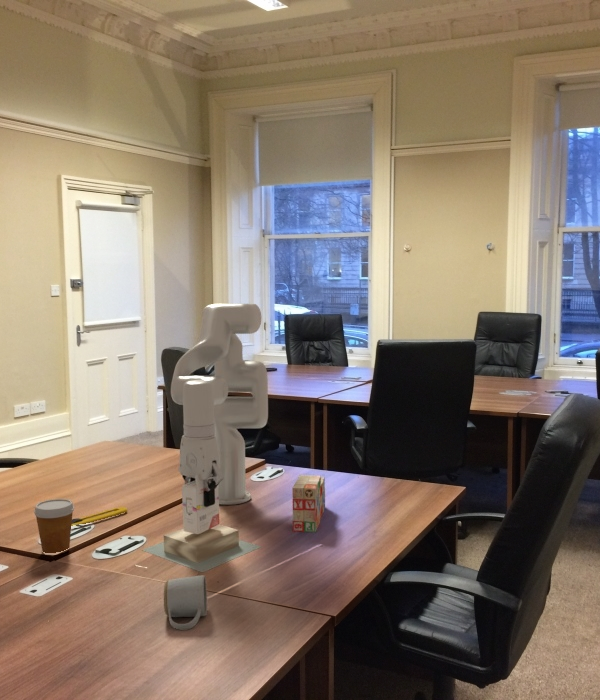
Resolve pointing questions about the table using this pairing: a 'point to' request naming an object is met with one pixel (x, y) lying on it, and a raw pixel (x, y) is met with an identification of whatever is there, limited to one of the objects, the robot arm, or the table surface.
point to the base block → (201, 542)
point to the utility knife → (99, 516)
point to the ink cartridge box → (198, 508)
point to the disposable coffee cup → (54, 524)
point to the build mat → (208, 563)
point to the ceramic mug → (185, 599)
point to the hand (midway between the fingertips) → (201, 502)
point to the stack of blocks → (308, 502)
